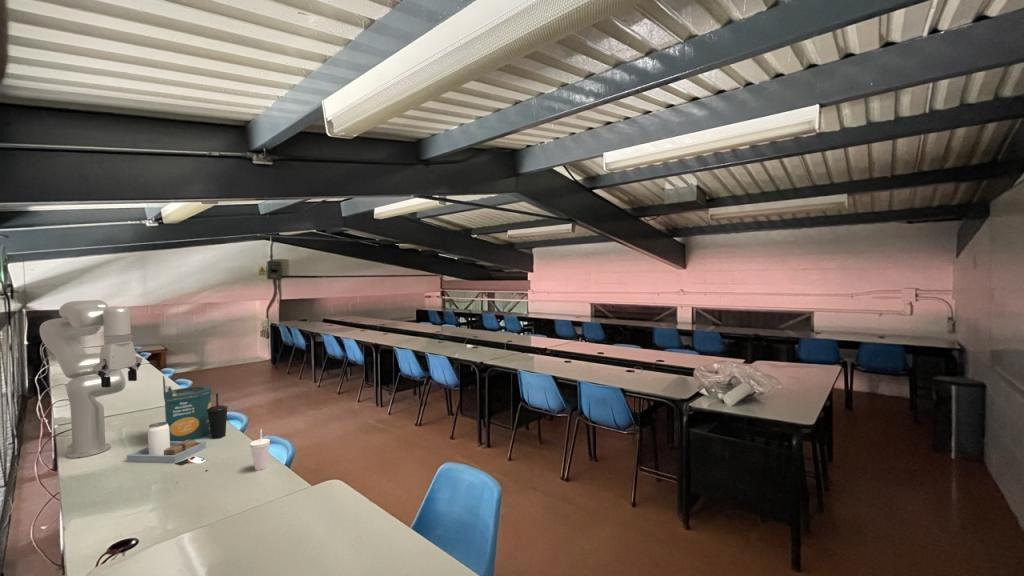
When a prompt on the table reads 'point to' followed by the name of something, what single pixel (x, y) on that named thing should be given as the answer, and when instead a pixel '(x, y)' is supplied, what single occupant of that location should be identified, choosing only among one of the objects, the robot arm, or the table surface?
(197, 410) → the donation box
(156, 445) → the can
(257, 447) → the smoothie
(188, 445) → the walnut block
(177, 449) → the walnut block
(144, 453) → the tray
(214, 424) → the drinking cup
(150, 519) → the table surface
